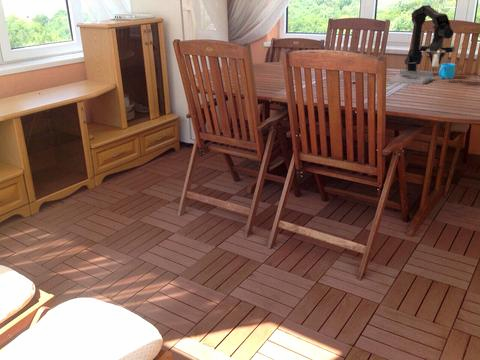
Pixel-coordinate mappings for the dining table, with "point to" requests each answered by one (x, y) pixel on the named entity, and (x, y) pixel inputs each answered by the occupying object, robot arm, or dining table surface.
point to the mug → (447, 70)
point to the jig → (412, 77)
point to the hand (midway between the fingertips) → (435, 63)
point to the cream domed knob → (435, 60)
